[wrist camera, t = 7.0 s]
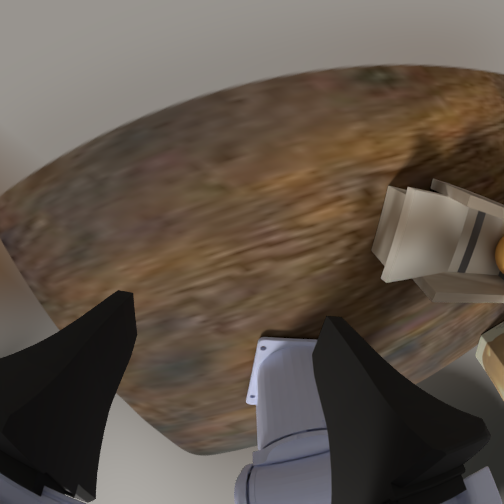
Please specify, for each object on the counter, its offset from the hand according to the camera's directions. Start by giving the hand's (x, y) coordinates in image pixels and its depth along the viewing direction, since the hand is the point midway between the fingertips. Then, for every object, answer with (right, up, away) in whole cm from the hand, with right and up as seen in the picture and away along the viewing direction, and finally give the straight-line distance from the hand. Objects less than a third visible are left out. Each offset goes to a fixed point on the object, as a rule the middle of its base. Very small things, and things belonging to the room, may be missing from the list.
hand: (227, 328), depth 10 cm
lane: (+18, +4, +9) cm, 21 cm away
